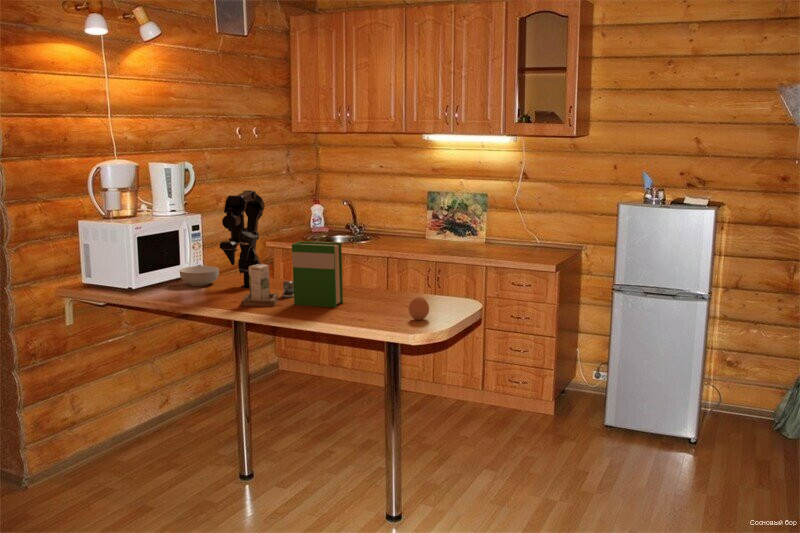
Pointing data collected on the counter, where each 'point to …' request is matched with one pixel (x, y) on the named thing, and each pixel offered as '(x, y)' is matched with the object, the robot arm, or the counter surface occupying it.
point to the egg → (418, 308)
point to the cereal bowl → (199, 275)
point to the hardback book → (317, 273)
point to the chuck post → (288, 289)
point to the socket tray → (259, 301)
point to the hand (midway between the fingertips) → (239, 263)
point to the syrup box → (259, 282)
